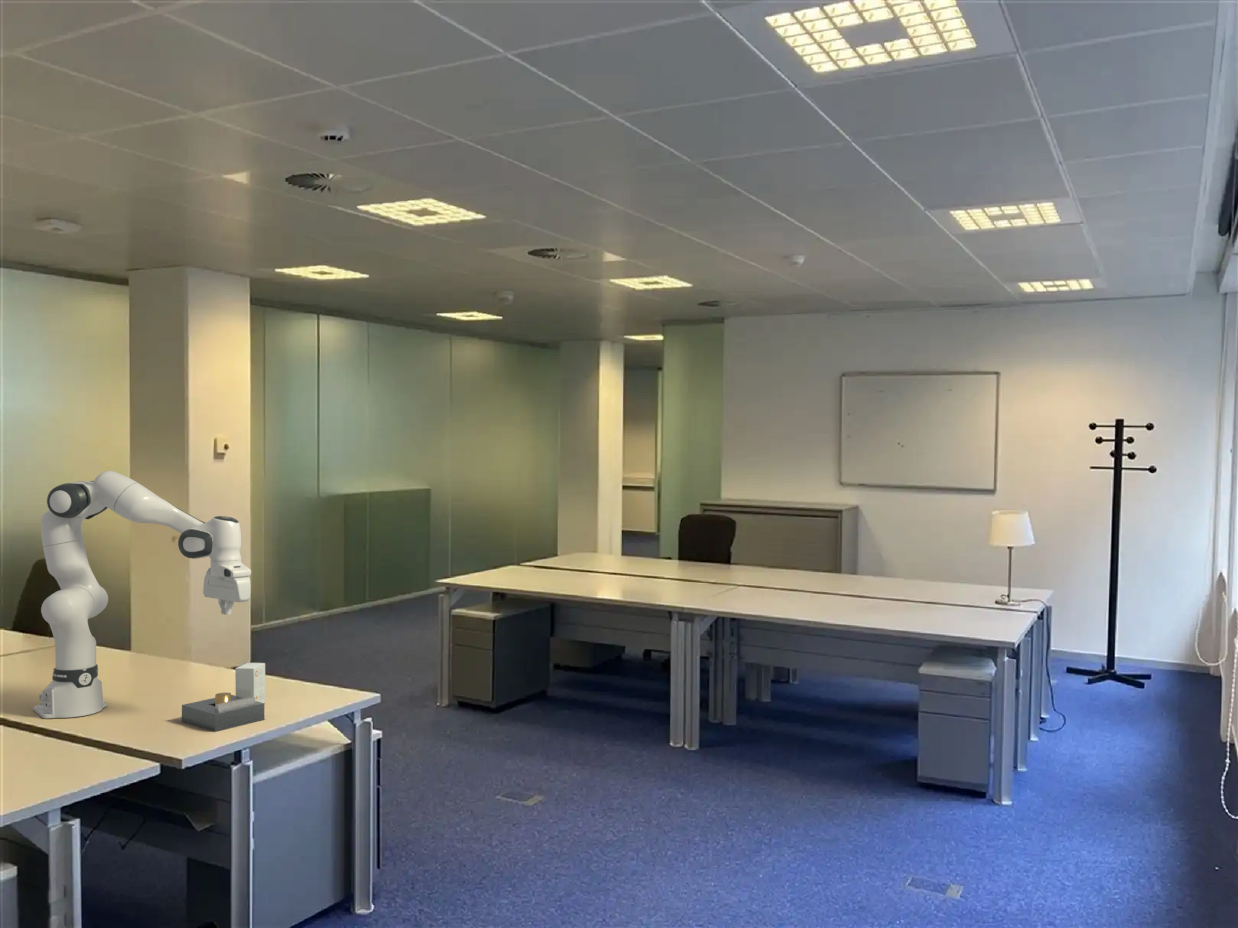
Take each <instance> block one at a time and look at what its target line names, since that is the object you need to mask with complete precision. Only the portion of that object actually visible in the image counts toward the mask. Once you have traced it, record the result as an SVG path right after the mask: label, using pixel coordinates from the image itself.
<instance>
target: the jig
mask: <svg viewBox="0 0 1238 928" xmlns="http://www.w3.org/2000/svg"><path fill="white" fill-rule="evenodd" d="M264 720H265V703H261V702H257V701H255V697H253V696H252V697H247V698H242V697H238V696H236V695H234V694H231V701H229V702H225V703H220V704H215V697H212V698H208V699H204V700H199V701H194V702H188V703H184V704H182V705H181V722H183V723H185V724H189V725H192V726H195V727H198V728H202V729H204V730H209V731H212V732H215V733H216V732H220V731H221V732H222V731H224V730H229V729H232V728H236V727H240V726H245V725H249V724H253V723H257V722H260V721H261V722H262V721H264Z"/></svg>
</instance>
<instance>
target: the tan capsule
mask: <svg viewBox="0 0 1238 928" xmlns="http://www.w3.org/2000/svg"><path fill="white" fill-rule="evenodd" d="M214 695H215V696H214V698H215V704H220V703H225V702H229V701H231V695H232V693H231V692H218V693H216V694H214Z"/></svg>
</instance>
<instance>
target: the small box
mask: <svg viewBox="0 0 1238 928" xmlns="http://www.w3.org/2000/svg"><path fill="white" fill-rule="evenodd" d="M234 669H235V672H234V673H235V696H238V697H242V698H247V697H252V696H253V697H255V701H257V702H261V703H264V704H266V663H265V662H246V663H244V664H242V665H239V666H237V667H235V668H234Z"/></svg>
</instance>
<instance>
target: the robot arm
mask: <svg viewBox="0 0 1238 928" xmlns="http://www.w3.org/2000/svg"><path fill="white" fill-rule="evenodd" d="M46 497H47V498H46V504H47V507H48V509H49V510H47V511H46V512H44V513H43V514H42V515H41V518H40V533H41V542H42V547H43V548H42V549H43V553H44V558H45V564H46V569H47V571H48V573H49V574H50V575H51V576H52V577H54V580H56V582H57V584H58V586H59V587H60V590H57V591H55V592H54V593H52V594H50V595H49V596H48V597H46V599H44V601H43V603H42V604H41V608H40V613H41V615H42V619H44V621H46V622H47V623H48V625H49V627H50V631H51V633H52V636H53V640H54V641H53V642H54V648H55V649H54V651H55V653H54V654H55V667H54V668H52V670H53V671H52V676H51V677H52V678H51V680H52V681H50V682H49V684H48V685H47V686H45V688H44V689H43V690H42V692H41V693H40V694H39V695H38V697H39V701H40V702H41V703H40V704H37V705H34V706H33V708H32V709H33V711H34V712H35V713H37V715H39V716H40V717H41V718H43V719H57V718H58V719H59V718H60V719H61V718H63V719H64V718H66V719H67V718H77V717H83V716H90V715H93V714H96V713H99V712H101V711H103V709H105V708H107V707H108V702H105V701H104V693H103V692H104V691H103V690H104V689H103V683H102V681H101V680H100V679H99V678H98V676H99V667H98V664H97V640H96V638H95V637H94V635H92V633H91V630H90V627H89V620H90V619H92V618H94V617H96V616H98V615H99V614H100V613H102V612H103V611H104V610H105V609H106V607H107V605H108V604H109V595H108V592H107V590H106V589H105V588H104V587H102V586H101V585H100V584H99V582H98V580H97V579H96V576H95V574H94V573H93V571H92V569H91V565H90V563H89V560H88V554H87V549H86V546H85V540H84V537H83V532H82V522H83V521H84V520H90V519H92V518H94V517H95V516H98V515H99V514H102V513H103V512H105V511H106V510H107V509H109V510H111V512H113V513H114V514H115V513H116V514H117V515H119V516H120V517H122V518H124V519H126V520H128V521H130V522H131V521H132V522H134V523H139V524H154V525H155V524H156V525H161V526H165V527H169V528H171V529H173V530H175V531H176V532H177V533H180V535H179V538H178V542H177V546H178V547H177V548H178V550H179V552H180V553H181V554H182V556H183V557H185V558H187V559H193V560H194V559H195V560H197V559H198V560H199V559H202V558H203V559H204V558H208V557H209V558H210V567H208V569H207V571H206V572H205V573H206V574H205V575H204V578H203V589H202V590H203V591H202V593H203V597H205V598H210V599H216V600H218V605H219V607H220V614H221V615H227V616H230V615H232V609H233V607H234V604H235V602H236V603H245V602H249V600H250V599H251V586H252V585H251V578H250V577H251V575H252V569H251V568H249V567H248V566H246V564H244V563H243V562H242V555H241V548H242V531H241V524H240V522H239V520H237V519H236V518H234V517H232V516H231V517H230V516H225V515H224V516H223V515H218V516H214V517H213V518H211V519H210V520H209V521H207V522H205V521H202V520H200V519H198V517H195V516H193V515H191V514H190V513H187V512H186V511H184V510H183V509H181V508H179V507H177V506H175V505H174V504H171V503H170V502H168V501H167V500H166V499H164V498H162V497H160V496H159V495H158V494H156V493H154V492H153V491H152V490H150V489H149V488H147V487H146V486H144V485H142V484H141V483H139V482H137V481H136V480H134V479H132V478H130V477H128V476H126V475H124V474H121V472H120V473H119V472H117V471H114V470H106V471H103V472H101V473H99V474H98V475H97V476H96V477H95V478H94V480H79V481H75V482H67V483H62V484H60V485H56V486H54V488H52V489H51V490H50V491H49V492H48V494H47V496H46Z"/></svg>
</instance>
